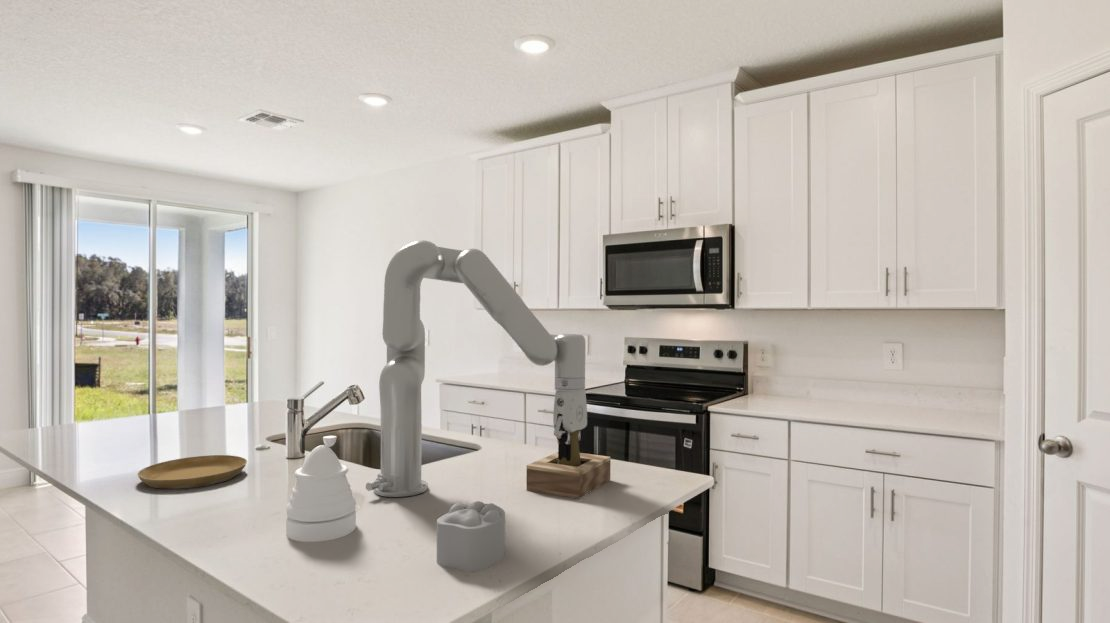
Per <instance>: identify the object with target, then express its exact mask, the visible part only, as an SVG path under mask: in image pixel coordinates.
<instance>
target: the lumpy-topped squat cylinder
mask: <svg viewBox="0 0 1110 623" xmlns="http://www.w3.org/2000/svg"><path fill="white" fill-rule="evenodd" d="M505 555H506V512H505V510H504V509H503V508H502V507H500V506H498V505H497V504H495V503H491V502H490V503H485V502H483V501H480V500H479V501H477V500H476V501H474V502H472V503H471V504H470V505H467V506H466V505H463V504H461V503H455V504H453V505H451V507H450V508H449V510H448V511H447V513H445V514H443V515H441V516H440V517H438V518H437V519H436V564H437V565H439V566H441V567H446V568H451V569H452V568H453V569H457V570H460V571H463V572H469V573H470V572H472V573H474V572H479V571H483V570H487V569H488V568H489V567H492V566H494V565H495V564H497V563H498V562H499V561H501V560H502V559H503V558H504V557H505Z"/></svg>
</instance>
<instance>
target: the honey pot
mask: <svg viewBox="0 0 1110 623" xmlns="http://www.w3.org/2000/svg"><path fill="white" fill-rule="evenodd" d="M337 437H338V436H336V435H325V436H323V437H322V440H323V444H321V445H318V446H316V447H314V448H313V449H312V450H311V451H310V452H309V454H308V455H307V457H306V458H305V460H304V462H303V464H302V467H300V468H297V469H296V470H295V471H294V477H295V478H296V481H295V484H294V486H293V487H292V489H291V492H292V493H291V494H290V496H289V497H290V498H289V502H288V503H287V505H286V509H285V511H286V514H285V516H286V519H285V522H286V524H285V525H286V526H285V527H286V528H285V529H286V530H285V533H286V534H285V535H286V537H287V538H288V539H289V540H292V541H296V542H301V543H314V542H315V543H316V542H318V543H319V542H326V541H332V540H336V539H339V538H343V537H345V536H347V535H349V534H351V533H352V532H355V529H356V525H357V520H356V519H357V518H356V517H357V516H356V512H357V511H356V497H355V496H354V495H353V491H352V489H351V482H349V481H348V479H347V476H346V474H347V473H348V472H349V467H348V466H347V465H345V464H342V463H341V462H340V460H339V457H338V456H337V454H336V453H335V452H334V451H333V450H332V448H331V447H333V446H334V445H335V443H336V441H337Z"/></svg>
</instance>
